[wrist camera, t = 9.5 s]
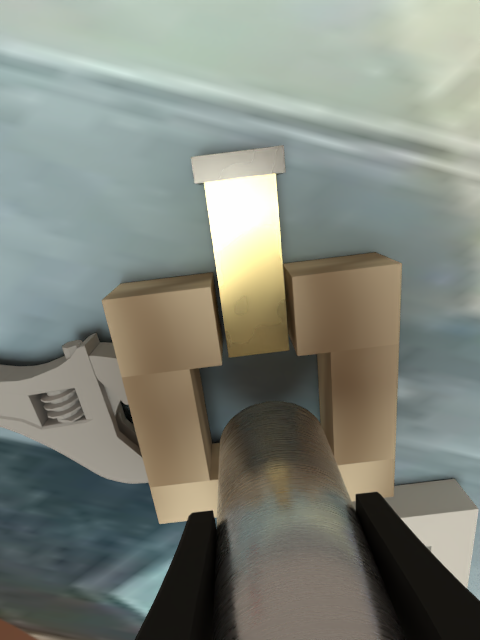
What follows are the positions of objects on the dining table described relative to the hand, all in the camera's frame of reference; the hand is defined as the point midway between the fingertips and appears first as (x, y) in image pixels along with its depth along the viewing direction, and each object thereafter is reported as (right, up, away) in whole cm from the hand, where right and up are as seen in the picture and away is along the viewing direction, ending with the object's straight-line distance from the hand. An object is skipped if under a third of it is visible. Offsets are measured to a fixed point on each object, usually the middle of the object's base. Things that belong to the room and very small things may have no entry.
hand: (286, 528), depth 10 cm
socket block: (0, +3, +7) cm, 8 cm away
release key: (-1, +9, +5) cm, 10 cm away
